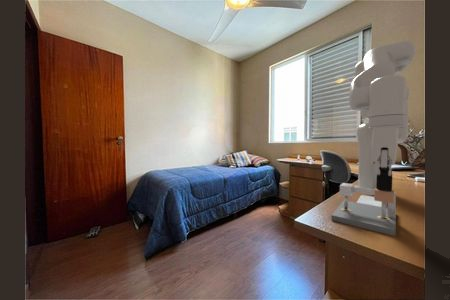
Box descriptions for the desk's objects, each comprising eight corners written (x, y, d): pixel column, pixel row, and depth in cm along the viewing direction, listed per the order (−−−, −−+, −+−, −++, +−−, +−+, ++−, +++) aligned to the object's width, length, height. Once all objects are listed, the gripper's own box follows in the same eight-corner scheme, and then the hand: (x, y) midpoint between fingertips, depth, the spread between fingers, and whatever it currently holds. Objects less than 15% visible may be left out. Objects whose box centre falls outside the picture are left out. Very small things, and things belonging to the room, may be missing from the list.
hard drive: (360, 194, 75) (356, 202, 66) (387, 198, 70) (385, 207, 61) (360, 198, 76) (355, 206, 67) (387, 203, 70) (385, 212, 61)
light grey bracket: (342, 206, 61) (342, 182, 61) (395, 216, 52) (395, 189, 52) (339, 210, 58) (339, 185, 57) (395, 222, 49) (395, 192, 48)
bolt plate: (343, 204, 67) (343, 200, 67) (395, 214, 58) (395, 209, 58) (331, 220, 54) (331, 214, 54) (395, 236, 45) (395, 229, 45)
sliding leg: (374, 213, 54) (375, 167, 53) (393, 216, 51) (394, 169, 51) (374, 216, 52) (375, 169, 51) (393, 220, 49) (394, 170, 48)
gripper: (371, 125, 59) (370, 181, 60) (365, 122, 47) (364, 192, 48) (403, 123, 54) (401, 185, 55) (406, 119, 42) (404, 198, 43)
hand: (384, 188), depth 51 cm, fingers closed on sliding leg, 3 cm apart
